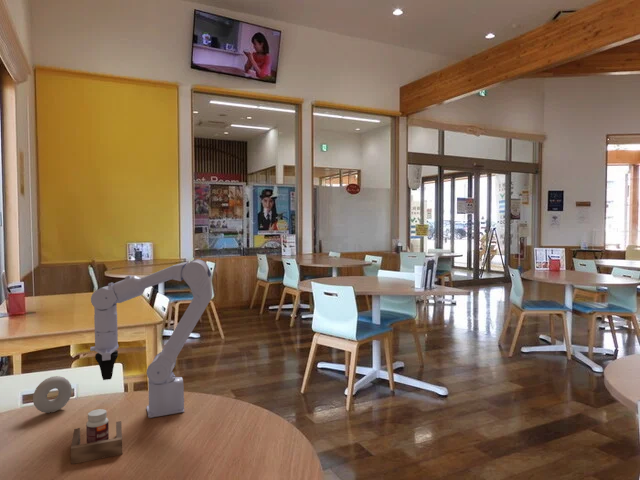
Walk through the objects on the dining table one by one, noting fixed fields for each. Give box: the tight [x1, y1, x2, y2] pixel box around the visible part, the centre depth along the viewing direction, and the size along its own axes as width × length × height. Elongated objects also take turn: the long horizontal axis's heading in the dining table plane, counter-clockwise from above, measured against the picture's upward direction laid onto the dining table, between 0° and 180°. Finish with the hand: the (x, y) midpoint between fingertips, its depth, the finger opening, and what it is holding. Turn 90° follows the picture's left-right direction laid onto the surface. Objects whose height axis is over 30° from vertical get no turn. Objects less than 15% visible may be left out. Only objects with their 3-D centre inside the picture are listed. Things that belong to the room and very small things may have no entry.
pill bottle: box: [85, 408, 110, 443], centre depth 108 cm, size 5×5×8 cm
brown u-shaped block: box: [70, 420, 123, 465], centre depth 107 cm, size 10×10×4 cm
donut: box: [32, 375, 73, 414], centre depth 128 cm, size 10×3×10 cm, turn 143°
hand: (107, 378), depth 126 cm, fingers closed
